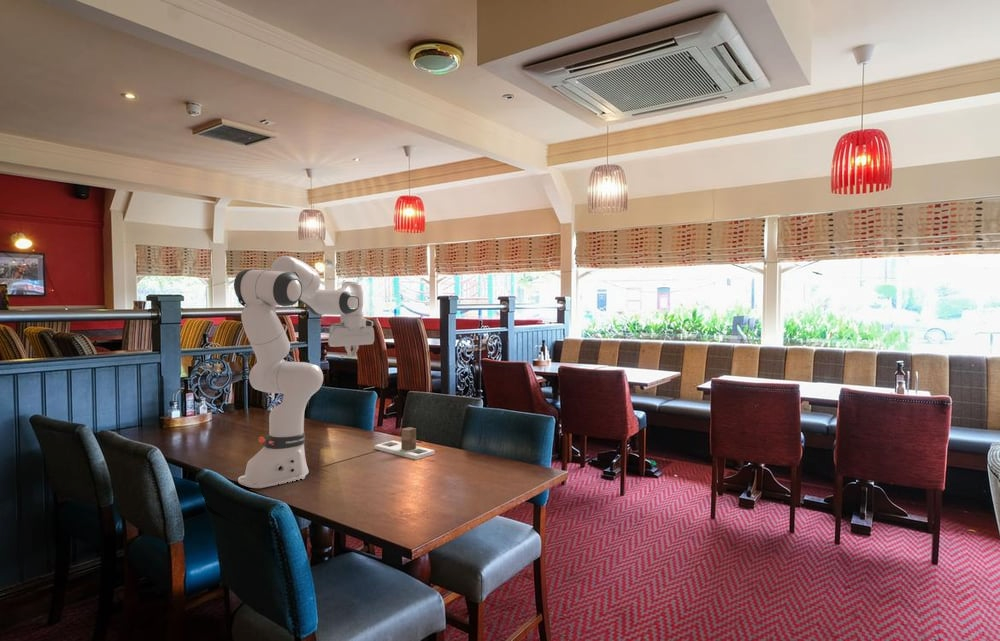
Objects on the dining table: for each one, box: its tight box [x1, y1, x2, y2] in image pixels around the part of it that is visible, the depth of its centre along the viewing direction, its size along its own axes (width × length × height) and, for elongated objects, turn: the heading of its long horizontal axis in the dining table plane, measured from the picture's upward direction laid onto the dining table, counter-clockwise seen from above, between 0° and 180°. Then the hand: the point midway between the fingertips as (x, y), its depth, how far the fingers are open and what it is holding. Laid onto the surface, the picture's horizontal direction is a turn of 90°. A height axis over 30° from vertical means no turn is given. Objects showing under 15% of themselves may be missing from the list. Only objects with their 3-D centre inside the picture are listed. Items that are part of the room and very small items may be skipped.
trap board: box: [373, 439, 436, 461], centre depth 222 cm, size 10×24×2 cm, turn 52°
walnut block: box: [400, 426, 417, 451], centre depth 220 cm, size 4×4×8 cm
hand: (351, 356), depth 225 cm, fingers closed
